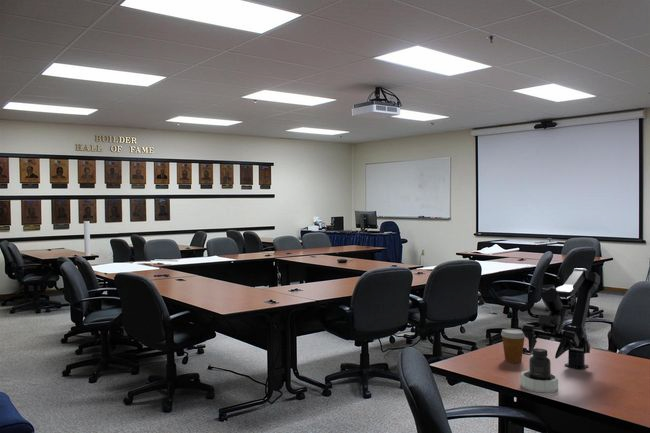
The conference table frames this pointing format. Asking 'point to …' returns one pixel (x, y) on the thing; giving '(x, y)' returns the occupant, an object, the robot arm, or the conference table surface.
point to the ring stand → (539, 383)
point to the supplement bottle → (540, 365)
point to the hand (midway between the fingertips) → (542, 355)
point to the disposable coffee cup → (513, 344)
